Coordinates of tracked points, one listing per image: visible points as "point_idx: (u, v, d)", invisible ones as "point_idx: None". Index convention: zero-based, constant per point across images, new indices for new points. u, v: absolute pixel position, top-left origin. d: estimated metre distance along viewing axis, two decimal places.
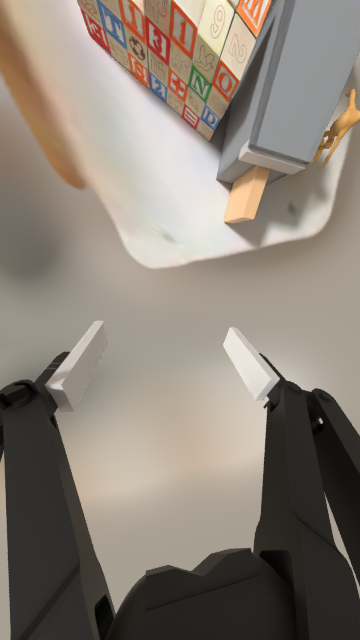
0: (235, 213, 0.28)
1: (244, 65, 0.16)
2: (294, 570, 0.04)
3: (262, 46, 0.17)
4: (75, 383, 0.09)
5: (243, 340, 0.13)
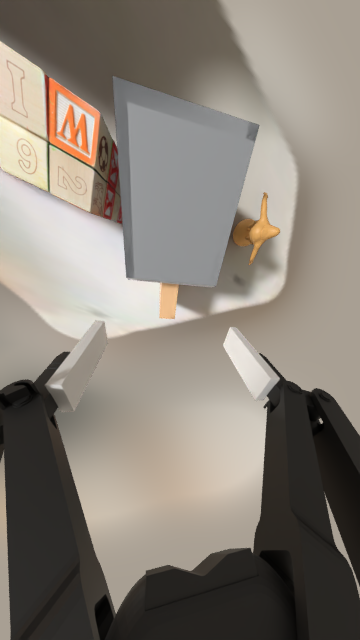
0: None
1: (89, 196, 0.12)
2: (294, 570, 0.04)
3: None
4: (75, 383, 0.09)
5: (243, 340, 0.13)
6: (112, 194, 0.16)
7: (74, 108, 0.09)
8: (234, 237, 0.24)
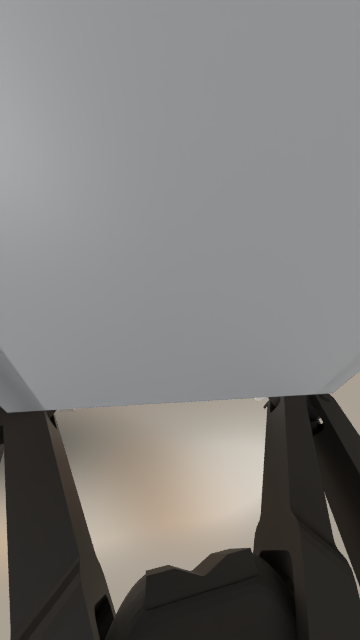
0: None
1: None
2: (294, 570, 0.04)
3: None
4: None
5: None
6: None
7: None
8: None
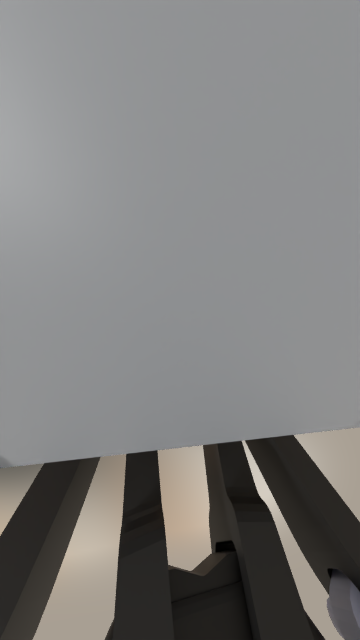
0: None
1: None
2: (239, 562, 0.04)
3: None
4: None
5: None
6: None
7: None
8: None
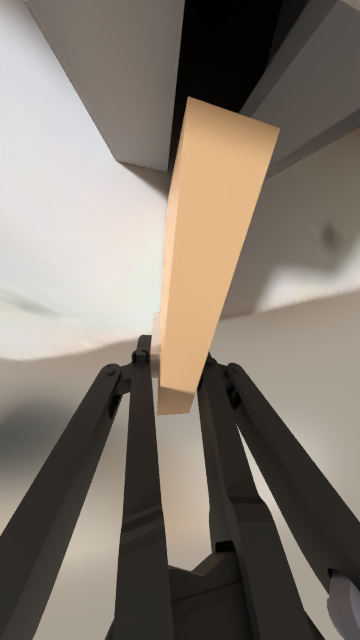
0: None
1: None
2: (239, 562, 0.04)
3: None
4: None
5: None
6: None
7: None
8: None
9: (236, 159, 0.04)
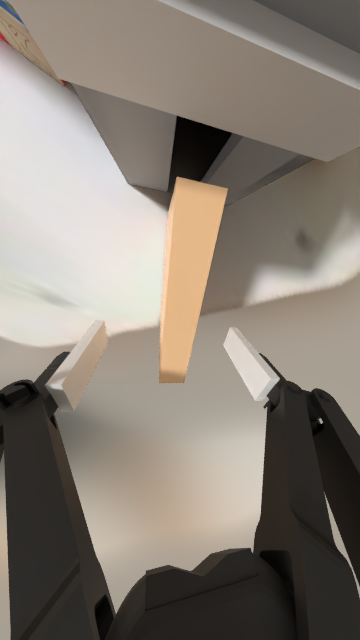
0: None
1: None
2: (294, 570, 0.04)
3: None
4: (75, 383, 0.09)
5: (243, 340, 0.13)
6: None
7: None
8: None
9: (205, 204, 0.06)
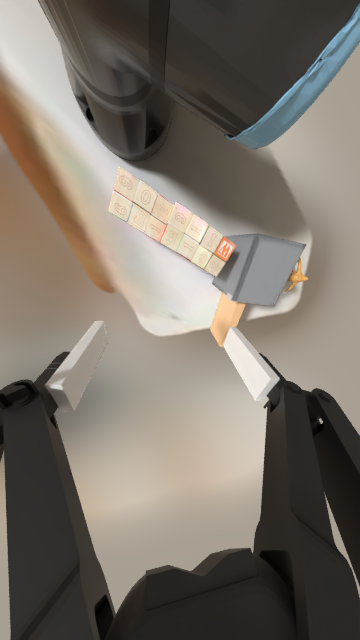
0: (216, 336, 0.42)
1: (218, 271, 0.26)
2: (294, 570, 0.04)
3: (240, 247, 0.27)
4: (75, 383, 0.09)
5: (243, 340, 0.13)
6: None
7: (227, 244, 0.24)
8: None
9: (241, 306, 0.34)
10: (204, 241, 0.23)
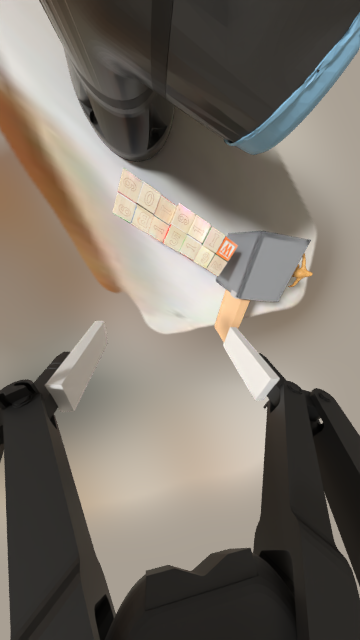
0: (221, 333, 0.43)
1: (220, 271, 0.27)
2: (294, 570, 0.04)
3: (243, 245, 0.27)
4: (75, 383, 0.09)
5: (243, 340, 0.13)
6: None
7: (229, 244, 0.24)
8: None
9: (245, 302, 0.34)
10: (206, 241, 0.23)
